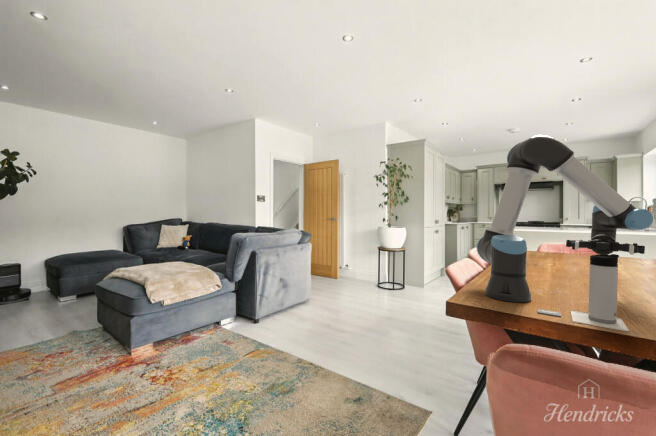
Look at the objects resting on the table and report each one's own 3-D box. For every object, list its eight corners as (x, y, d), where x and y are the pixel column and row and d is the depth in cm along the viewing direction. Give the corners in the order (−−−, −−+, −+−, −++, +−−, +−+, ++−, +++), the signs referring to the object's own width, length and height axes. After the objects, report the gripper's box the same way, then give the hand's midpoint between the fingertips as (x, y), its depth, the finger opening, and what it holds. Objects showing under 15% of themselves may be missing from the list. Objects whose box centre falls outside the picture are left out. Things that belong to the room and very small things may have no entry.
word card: (537, 313, 98) (537, 311, 98) (537, 310, 101) (537, 308, 101) (560, 317, 94) (560, 315, 94) (560, 313, 97) (560, 312, 97)
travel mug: (623, 325, 87) (625, 256, 86) (596, 323, 88) (598, 255, 88) (608, 317, 93) (609, 253, 92) (583, 316, 94) (585, 252, 94)
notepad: (572, 321, 90) (572, 320, 90) (570, 311, 100) (570, 310, 100) (628, 331, 83) (628, 330, 83) (620, 319, 92) (620, 318, 92)
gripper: (649, 258, 107) (657, 264, 91) (561, 250, 124) (555, 254, 108) (651, 237, 107) (659, 240, 91) (562, 231, 124) (556, 233, 108)
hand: (603, 247), depth 100 cm, fingers open, 13 cm apart
